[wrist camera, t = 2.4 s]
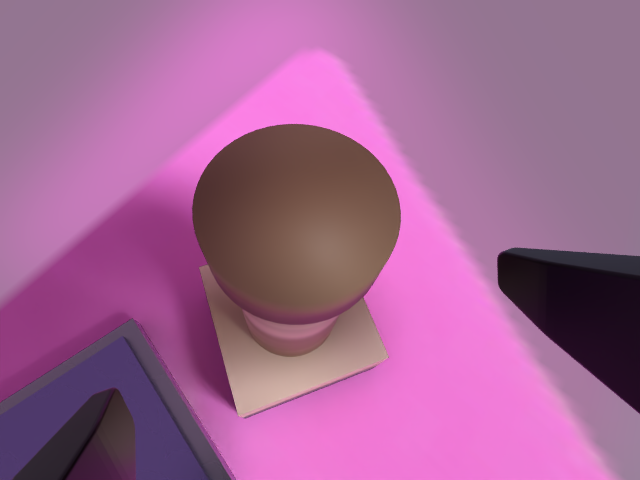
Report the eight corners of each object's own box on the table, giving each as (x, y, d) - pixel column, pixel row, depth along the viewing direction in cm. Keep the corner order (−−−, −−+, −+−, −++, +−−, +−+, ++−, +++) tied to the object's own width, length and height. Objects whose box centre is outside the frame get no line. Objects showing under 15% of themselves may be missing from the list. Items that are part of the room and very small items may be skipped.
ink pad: (238, 483, 16) (234, 487, 14) (31, 663, 13) (5, 688, 12) (140, 323, 18) (129, 316, 17) (-52, 448, 15) (-83, 449, 14)
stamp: (373, 368, 18) (489, 287, 8) (245, 418, 17) (187, 399, 7) (326, 254, 20) (370, 78, 10) (210, 290, 19) (128, 129, 9)
